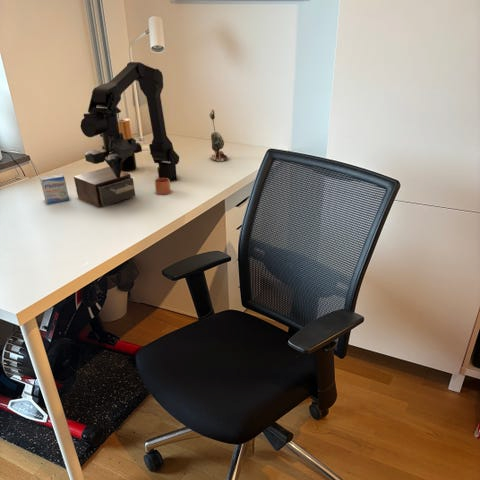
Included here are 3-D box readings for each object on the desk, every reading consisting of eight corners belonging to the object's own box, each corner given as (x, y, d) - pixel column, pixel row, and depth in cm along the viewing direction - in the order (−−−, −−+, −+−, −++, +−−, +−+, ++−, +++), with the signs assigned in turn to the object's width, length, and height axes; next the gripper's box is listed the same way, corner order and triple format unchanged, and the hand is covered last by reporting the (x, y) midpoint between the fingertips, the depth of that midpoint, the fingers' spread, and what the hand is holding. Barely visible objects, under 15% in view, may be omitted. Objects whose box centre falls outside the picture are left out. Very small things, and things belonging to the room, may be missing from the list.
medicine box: (47, 204, 178) (41, 180, 173) (45, 200, 181) (39, 176, 176) (69, 200, 181) (64, 176, 176) (67, 196, 184) (62, 173, 179)
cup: (169, 189, 188) (168, 177, 185) (171, 193, 184) (170, 181, 181) (155, 190, 187) (153, 178, 184) (157, 195, 182) (155, 183, 180)
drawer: (143, 198, 178) (141, 181, 174) (111, 209, 170) (108, 191, 166) (115, 188, 188) (112, 171, 184) (84, 197, 180) (80, 180, 176)
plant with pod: (207, 163, 214) (204, 113, 203) (212, 155, 223) (209, 107, 212) (226, 163, 213) (223, 113, 202) (230, 155, 222) (228, 107, 211)
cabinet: (133, 196, 182) (130, 174, 178) (99, 207, 174) (94, 184, 169) (112, 188, 190) (108, 166, 186) (78, 198, 182) (73, 176, 177)
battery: (116, 171, 208) (108, 120, 196) (124, 166, 213) (116, 116, 202) (132, 172, 206) (124, 121, 195) (139, 167, 211) (132, 117, 200)
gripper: (99, 139, 152) (108, 190, 161) (148, 127, 163) (154, 175, 172) (79, 134, 159) (89, 182, 167) (128, 123, 170) (135, 169, 178)
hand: (118, 177), depth 171 cm, fingers closed
